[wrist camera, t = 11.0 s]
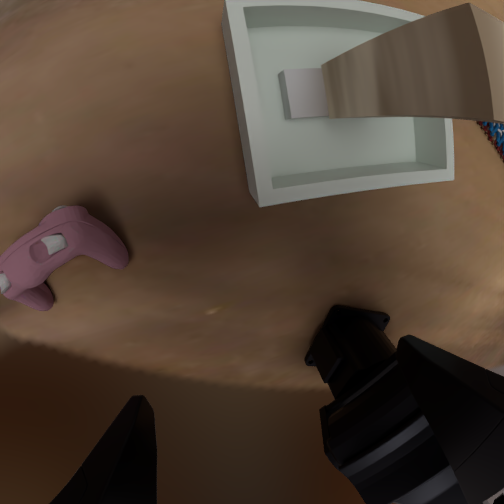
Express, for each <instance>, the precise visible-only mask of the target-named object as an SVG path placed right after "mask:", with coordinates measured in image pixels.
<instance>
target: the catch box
mask: <svg viewBox="0 0 504 504" xmlns="http://www.w3.org/2000/svg"><path fill="white" fill-rule="evenodd" d="M423 17H425V16H422V15H419V14H416V13H412V12H409V11H405V10H401V9H397V8H393V7H389V6H385V5H380V4H375V3H370V2H364V1H358V0H224V7H223V14H222V23H221V25H222V31H223V36H224V42H225V48H226V54H227V60H228V66H229V72H230V78H231V84H232V90H233V95H234V101H235V108H236V114H237V120H238V126H239V132H240V138H241V144H242V150H243V156H244V162H245V169H246V175H247V181H248V187H249V192H250V194H251V195H252V197H253V198H254V200H255V201H256V203H257V204H258V206H259V207H265V206H270V205H276V204H282V203H288V202H294V201H300V200H306V199H312V198H318V197H325V196H331V195H338V194H344V193H351V192H358V191H366V190H373V189H380V188H388V187H396V186H404V185H413V184H421V183H431V182H440V181H450V180H454V142H453V125H452V119H450V118H429V117H366V118H337V119H329V116H325V117H310V118H299V119H288V120H285V116H284V109H283V103H282V97H281V91H280V85H279V79H278V74H279V73H280V72H281V71H282V70H284V69H303V68H321V65H322V64H324V63H326V62H327V61H329V60H331V59H333V58H335V57H337V56H339V55H340V54H342V53H344V52H346V51H348V50H350V49H352V48H354V47H356V46H358V45H360V44H362V43H364V42H366V41H368V40H371V39H373V38H375V37H377V36H379V35H381V34H384V33H386V32H388V31H390V30H393V29H395V28H397V27H400V26H402V25H405V24H407V23H410V22H412V21H415V20H417V19H420V18H423Z"/></svg>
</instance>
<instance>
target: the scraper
mask: <svg viewBox="0 0 504 504" xmlns="http://www.w3.org/2000/svg"><path fill="white" fill-rule="evenodd" d="M278 79H279V85H280V91H281V97H282V103H283V109H284V116H285V120H288V119H299V118H310V117H325V116H329V119H337V118H366V117H429V118H450V119H464V120H474V121H484V122H492V123H500V124H504V22H502V21H500V20H499V19H497V18H496V17H494V16H492V15H491V14H489V13H487V12H486V11H484V10H482V9H480V8H478V7H477V6H475V5H473V4H471V3H466V4H462V5H459V6H455V7H452V8H449V9H446V10H443V11H440V12H437V13H434V14H431V15H428V16H425V17H423V18H420V19H417V20H415V21H412V22H410V23H407V24H405V25H402V26H400V27H397V28H395V29H393V30H390V31H388V32H386V33H384V34H381V35H379V36H377V37H375V38H373V39H371V40H368V41H366V42H364V43H362V44H360V45H358V46H356V47H354V48H352V49H350V50H348V51H346V52H344V53H342V54H340V55H339V56H337V57H335V58H333V59H331V60H329V61H327V62H326V63H324V64H322V65H321V68H303V69H284V70H282V71H281V72H280V73H279V74H278Z"/></svg>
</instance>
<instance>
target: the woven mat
mask: <svg viewBox="0 0 504 504" xmlns="http://www.w3.org/2000/svg"><path fill="white" fill-rule="evenodd" d="M478 122H479V125H480V126H482V127H483V129H484V131H486V133H487V135H488V137H489V140H490V141H492V142H493V143H494V145H495V146H496V149H497V151H499V152H500V153H499V154H500V155H501V156H502V157H503V160H504V124H500V123H492V122H484V121H478ZM488 124H489V127H488ZM501 145H502V146H501Z"/></svg>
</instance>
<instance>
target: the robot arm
mask: <svg viewBox="0 0 504 504" xmlns="http://www.w3.org/2000/svg"><path fill="white" fill-rule="evenodd" d="M337 310H339V311H338V312H336V311H337ZM335 312H336V313H335ZM389 320H390V317H389V315H388V314H386V313H380V312H374V311H369V310H363V309H357V308H351V307H346V306H340V305H336V306H334V307H332V309H331V310H330V312H329V314H328V316H327V318H326V320H325V322H324V324H323V326H322V328H321V329H320V331H319V333H318V335H317V336H316V338H315V340H314V342H313V344H312V346H311V348H310V350H309V352H308V354H307V356H306V358H305V363H306V365H307V366H317V368H318V371H319V373H320V375H321V377H322V380H323V381H324V383H328V385H329V387H330V390H331V392H332V394H333V396H334V398H335V400H334V401H332V402H331V403H330V404H329V405H327V406H323V407H322V408H321V409H320V410H319V411H320V418H321V427H322V436H323V444H324V452H325V454H326V456H327V457H328V459H329V461H330V462H331V463H332V464H333V465H334V466H335V468H336V469H338V470H339V471H340V472H342V473H343V474H344V475H345V476H346V477H347V478H348V479H349V480H350V481H351V483H352V484H353V485H354V486H355V488H356V489H357V491H358V492H359V494H360V495H361V497H362V498H363V500H364V502H365V503H366V504H391V503H396V504H489V503H488V501H487V499H488V498H490V497H491V496H493V495H495V494H496V493H497V492H499V491H500V490H502V492H503V493H502V494H501V495H500V496H499V497H497V498H496V499H495V500H494V503H493V504H504V377H503V376H501V375H499V374H496V373H494V372H492V371H490V370H487V369H486V370H485V368H483V367H480V366H478V365H476V364H474V363H472V362H469V361H467V360H465V359H463V358H461V357H458V356H456V355H454V354H452V353H450V352H447V351H445V350H443V349H441V348H439V347H436V346H434V345H432V344H430V343H428V342H425V341H423V340H421V339H419V338H417V337H415V336H412V335H406V336H403V337H401V338H400V339H399V341H398V346H397V349H396V348H395V346H394V345H393V344H392V343H391V341H390V340H389V339H388V337H387V336H386V335H385V334H384V332H383V331H384V329H385V327H386V326H387V324H388V322H389ZM310 360H311V361H310ZM50 504H157V444H156V432H155V418H154V411H153V408H152V407H151V405H150V403H149V402H148V401H147V399H146V397H145V396H144V395H133V396H132V397H131V398H130V399H129V400H128V402H127V403H126V405H125V406H124V407H123V409H122V410H121V411H120V413H119V414H118V415H117V417H116V418H115V420H114V421H113V422H112V424H111V425H110V426H109V428H108V429H107V430H106V432H105V433H104V435H103V436H102V437H101V439H100V440H99V442H98V443H97V444H96V446H95V447H94V449H93V450H92V451H91V452H90V454H89V455H88V457H87V458H86V459H85V461H84V462H83V463H82V466H80V468H79V469H78V470H77V472H76V473H75V474H74V476H73V477H72V478H71V480H70V481H69V482H68V483H67V485H66V486H65V487H64V488H63V489H62V490H61V491H60V493H59V494H58V495H57V496H56V497H55V498H54V499H53V500H52V501H51V502H50Z"/></svg>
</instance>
